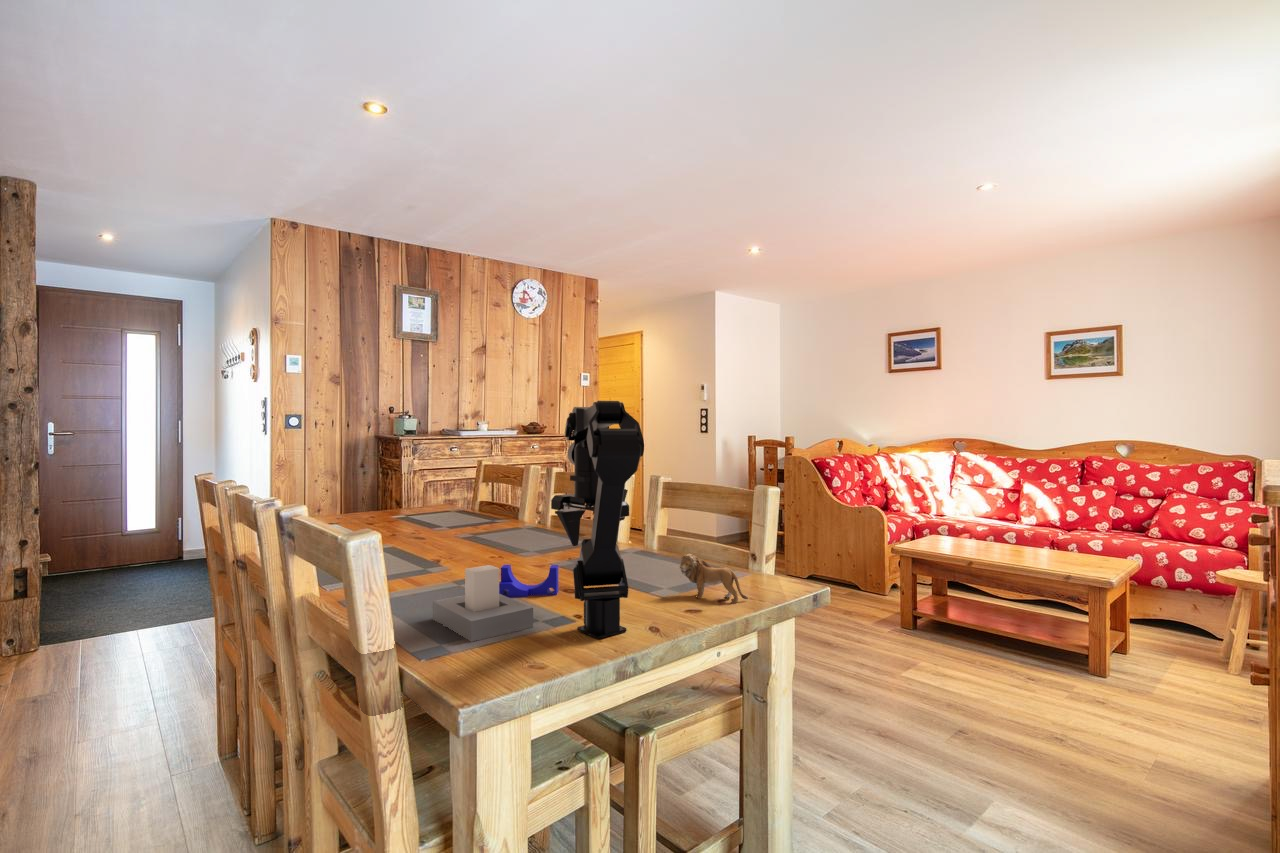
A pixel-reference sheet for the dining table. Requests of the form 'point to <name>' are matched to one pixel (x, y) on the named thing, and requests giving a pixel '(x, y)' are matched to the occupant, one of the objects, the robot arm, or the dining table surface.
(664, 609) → the dining table surface
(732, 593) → the lion figurine
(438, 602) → the socket block
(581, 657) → the dining table surface
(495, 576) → the plug
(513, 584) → the blue pipe saddle bracket
